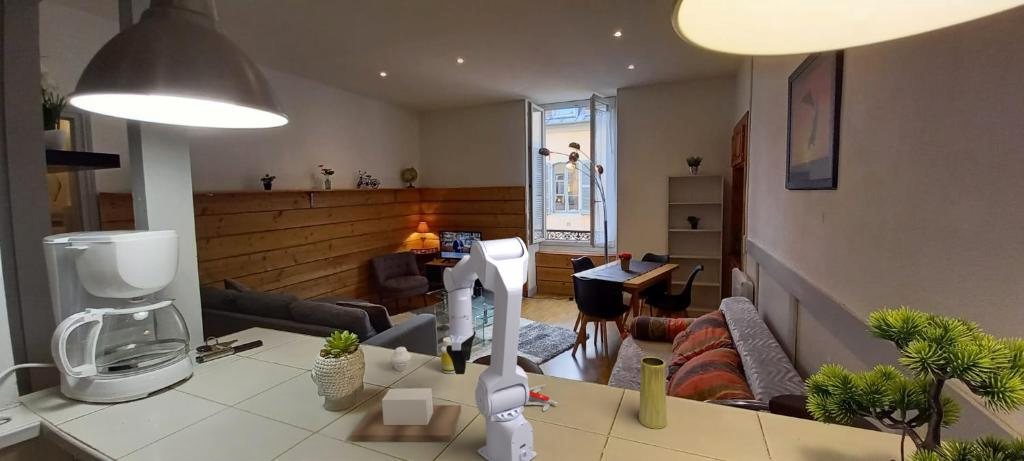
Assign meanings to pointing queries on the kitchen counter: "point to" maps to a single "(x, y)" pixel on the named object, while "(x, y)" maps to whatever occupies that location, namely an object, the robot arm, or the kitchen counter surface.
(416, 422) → the block
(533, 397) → the swiss army knife
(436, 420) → the pin board
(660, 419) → the vase
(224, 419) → the kitchen counter surface
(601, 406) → the kitchen counter surface
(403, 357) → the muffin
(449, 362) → the supplement bottle
